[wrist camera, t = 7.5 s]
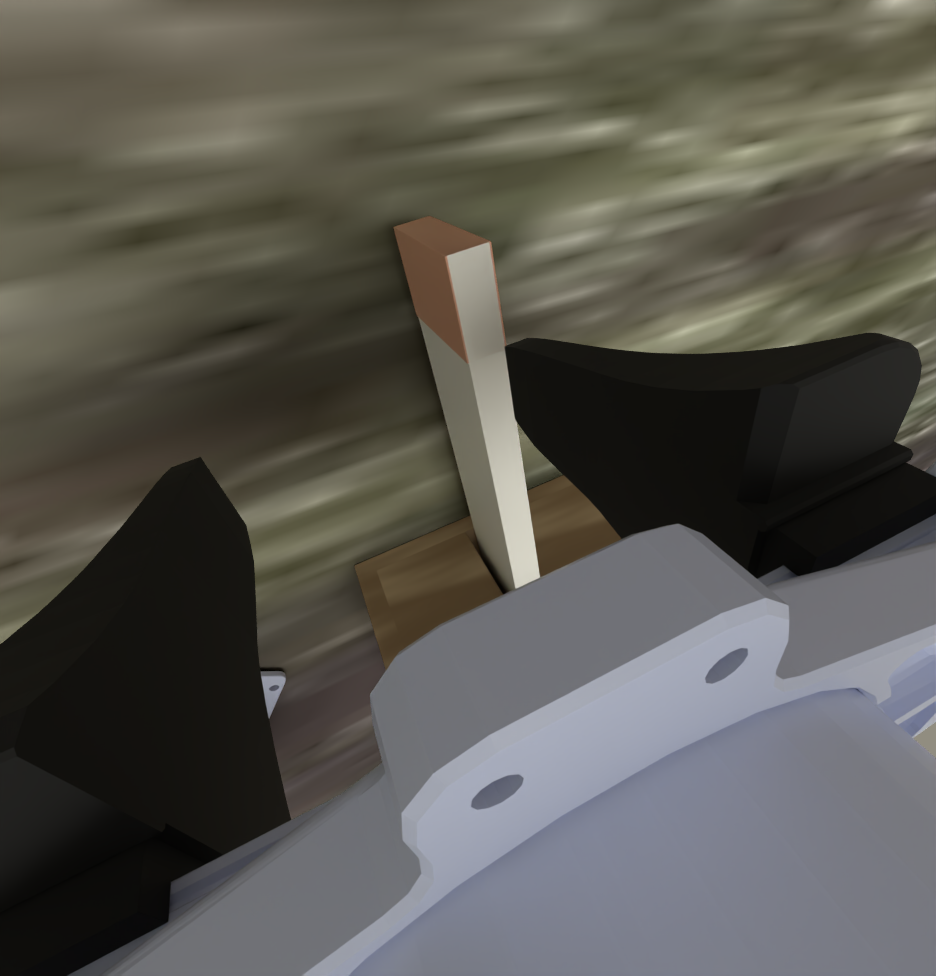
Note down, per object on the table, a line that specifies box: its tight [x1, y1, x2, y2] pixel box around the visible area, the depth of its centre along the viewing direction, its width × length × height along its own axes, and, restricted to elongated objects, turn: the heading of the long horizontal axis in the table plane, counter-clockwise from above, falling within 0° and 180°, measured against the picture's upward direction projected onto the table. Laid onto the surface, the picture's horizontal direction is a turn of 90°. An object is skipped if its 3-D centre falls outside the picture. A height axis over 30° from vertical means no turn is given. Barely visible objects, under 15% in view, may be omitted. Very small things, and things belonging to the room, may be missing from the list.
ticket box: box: [354, 475, 621, 670], centre depth 28 cm, size 15×14×8 cm
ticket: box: [393, 216, 540, 595], centre depth 20 cm, size 19×1×5 cm, turn 12°
